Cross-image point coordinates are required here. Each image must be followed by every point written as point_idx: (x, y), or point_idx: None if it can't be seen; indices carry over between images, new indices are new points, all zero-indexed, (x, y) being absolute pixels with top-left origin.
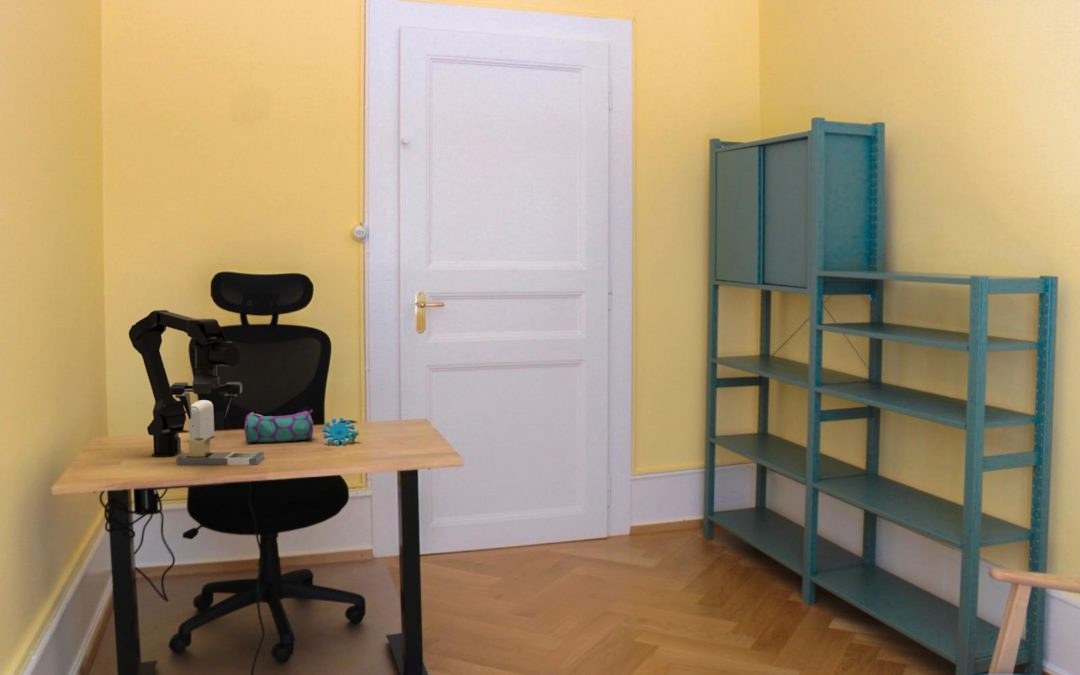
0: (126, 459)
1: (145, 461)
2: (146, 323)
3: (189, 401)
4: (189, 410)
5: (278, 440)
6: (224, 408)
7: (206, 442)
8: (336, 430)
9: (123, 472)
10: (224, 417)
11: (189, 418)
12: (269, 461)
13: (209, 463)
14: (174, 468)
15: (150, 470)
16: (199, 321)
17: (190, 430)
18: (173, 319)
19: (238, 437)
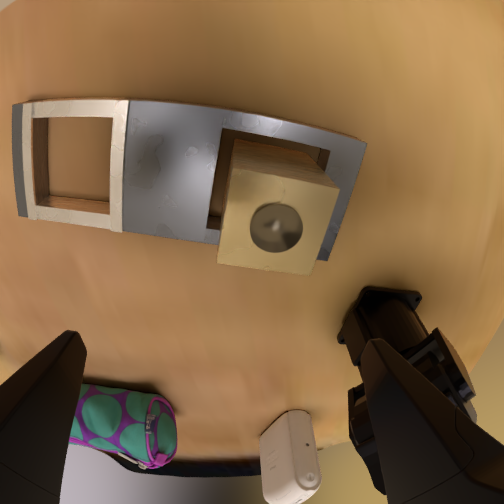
0: (474, 266)
1: (445, 230)
2: None
3: (407, 493)
4: (408, 398)
5: (87, 384)
6: (17, 392)
7: (226, 200)
8: None
9: (497, 86)
10: (63, 335)
11: (379, 340)
12: (6, 158)
13: (208, 105)
14: (359, 72)
15: (437, 74)
16: None
17: (311, 435)
18: None
19: (204, 429)
